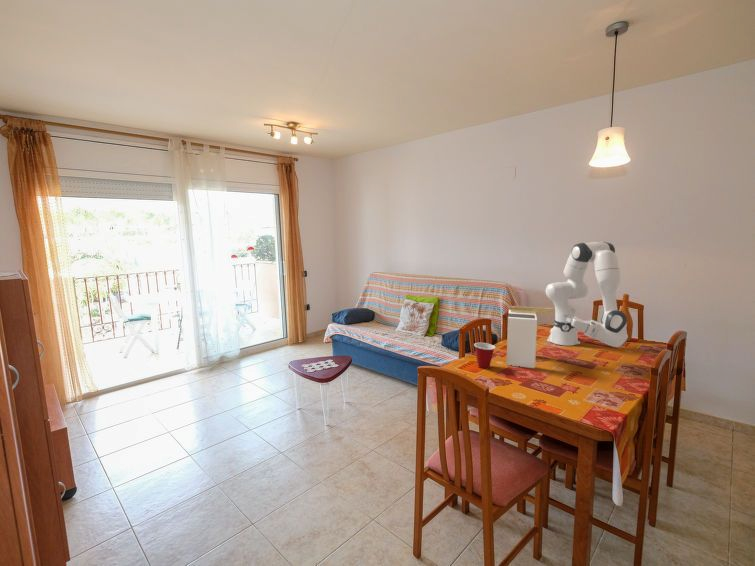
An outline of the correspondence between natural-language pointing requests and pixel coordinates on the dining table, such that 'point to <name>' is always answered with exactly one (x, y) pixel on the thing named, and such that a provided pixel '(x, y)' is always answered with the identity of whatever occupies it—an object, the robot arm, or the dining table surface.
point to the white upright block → (521, 339)
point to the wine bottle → (629, 318)
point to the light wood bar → (532, 310)
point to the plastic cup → (484, 354)
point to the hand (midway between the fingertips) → (563, 316)
